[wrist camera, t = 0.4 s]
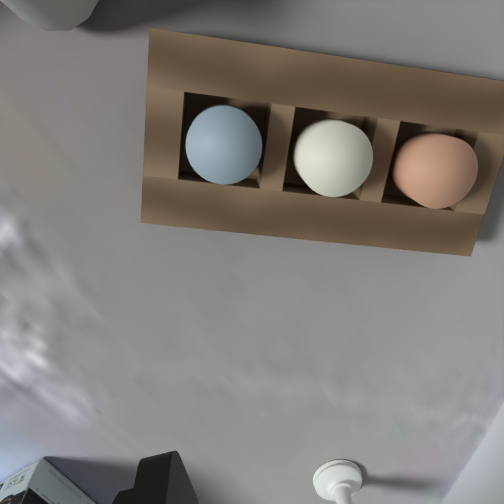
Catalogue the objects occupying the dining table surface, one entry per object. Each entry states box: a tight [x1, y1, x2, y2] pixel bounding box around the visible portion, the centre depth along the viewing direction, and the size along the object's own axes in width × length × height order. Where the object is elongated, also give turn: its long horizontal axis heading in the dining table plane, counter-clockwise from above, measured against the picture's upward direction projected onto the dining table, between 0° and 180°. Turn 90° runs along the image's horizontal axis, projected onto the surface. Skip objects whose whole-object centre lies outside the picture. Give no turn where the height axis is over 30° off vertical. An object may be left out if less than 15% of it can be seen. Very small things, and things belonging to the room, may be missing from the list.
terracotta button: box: [390, 131, 478, 209], centre depth 30 cm, size 5×5×3 cm
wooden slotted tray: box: [141, 28, 504, 256], centre depth 31 cm, size 12×24×4 cm, turn 83°
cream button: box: [292, 118, 373, 197], centre depth 29 cm, size 5×5×3 cm
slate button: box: [186, 104, 262, 185], centre depth 28 cm, size 5×5×3 cm
